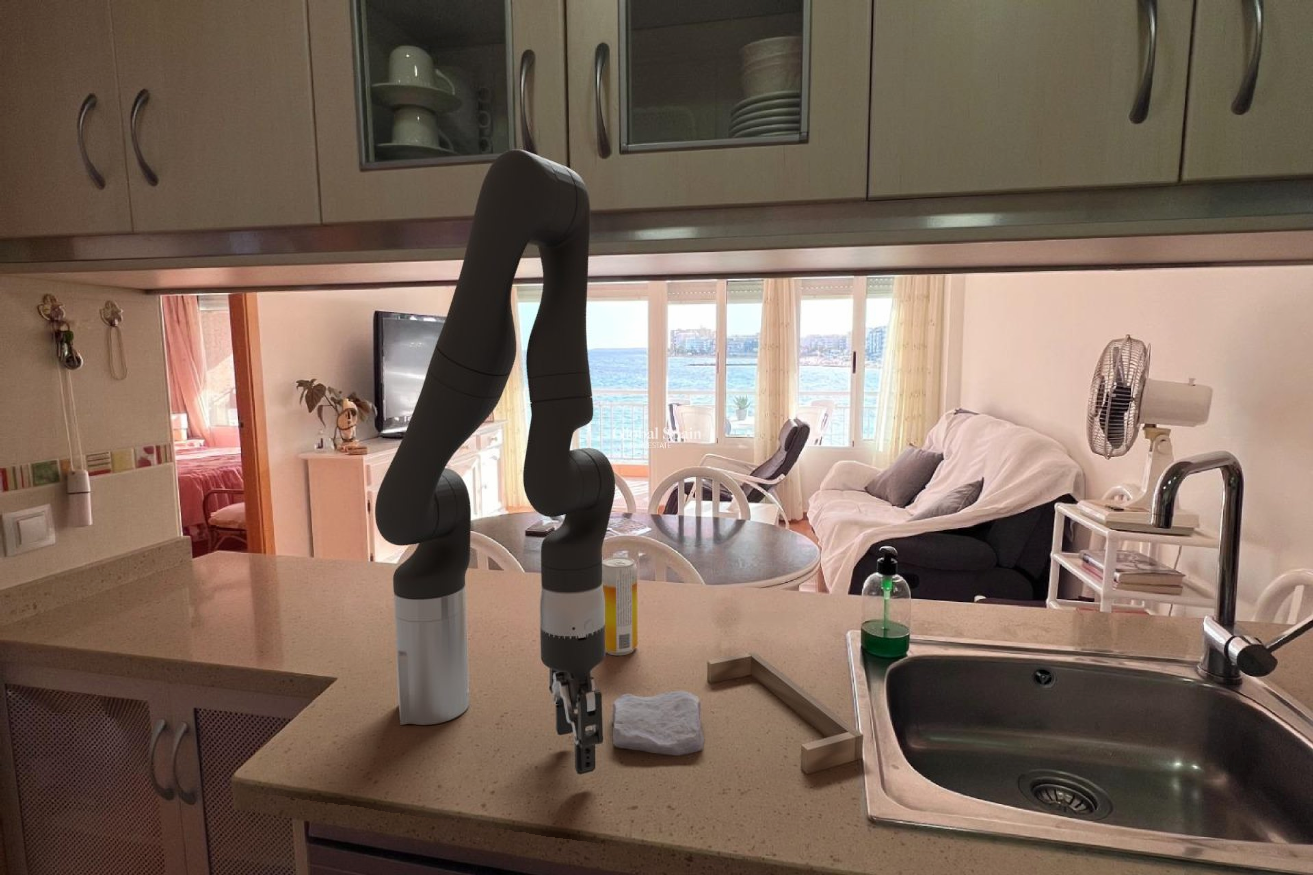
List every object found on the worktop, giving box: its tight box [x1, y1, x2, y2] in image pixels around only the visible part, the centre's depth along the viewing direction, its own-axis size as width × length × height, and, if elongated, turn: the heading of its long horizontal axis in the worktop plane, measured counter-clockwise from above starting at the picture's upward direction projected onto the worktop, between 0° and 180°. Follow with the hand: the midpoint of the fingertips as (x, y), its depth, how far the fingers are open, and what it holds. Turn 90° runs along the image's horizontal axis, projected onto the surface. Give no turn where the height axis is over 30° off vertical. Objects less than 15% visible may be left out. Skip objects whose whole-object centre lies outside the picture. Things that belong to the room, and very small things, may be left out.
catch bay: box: [706, 651, 864, 775], centre depth 91 cm, size 8×25×3 cm, turn 23°
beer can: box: [602, 556, 638, 656], centre depth 111 cm, size 6×6×15 cm
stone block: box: [611, 690, 705, 757], centre depth 86 cm, size 12×5×10 cm
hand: (574, 751), depth 80 cm, fingers open, 8 cm apart
